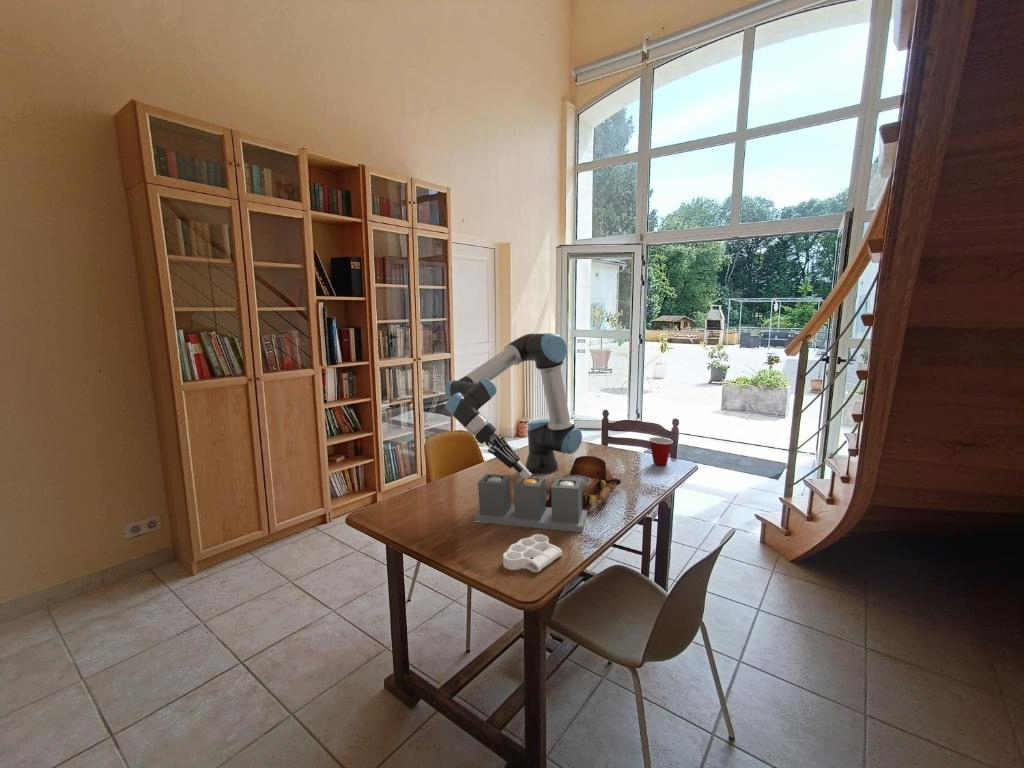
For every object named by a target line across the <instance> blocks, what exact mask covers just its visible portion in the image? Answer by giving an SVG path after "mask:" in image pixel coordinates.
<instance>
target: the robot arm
mask: <svg viewBox="0 0 1024 768" xmlns="http://www.w3.org/2000/svg"><path fill="white" fill-rule="evenodd" d="M567 354H568V347H567V343H566V341H565V338H563V336H561V335H560V334H557V333H552V332H551V333H550V332H547V333H527V334H524V335H522V336H520V337H518V338H516V339H514V340H512V341H511V342H510V343H508V344H507V345H505V346H504V348H503V350H502V351H500V352H499V353H497V354H495V355H494V356H493V357H491V358H490V359H488V360H487V361H486V362H484V363H482V364H481V365H480V366H478V367H476V368H475V369H473V370H472V371H470V372H469V373H468V374H466V375H464V376H463V377H461V378H459V379H458V380H450V381H448V382H447V383H446V385H445V387H444V393H445V396H446V397H447V399H448V400H447V401H446V402H445V405H444V406H445V409H446V410H447V411H448V413H450V415H451V416H452V417H454V419H456V420H457V422H458V423H460V425H462V426H463V427H464V429H465V430H466V431H467V432H468V433H470V434H471V435H472V436H474V439H475V440H476V441H477V442H478V443H479V444H481V445H483V444H485V445H486V446H487V447H488V449H487V452H488V453H490V454H491V455H493V456H494V457H496V458H497V459H498V460H499V461H500V462H502V463H503V464H504V465H505V466H506V467H507V468H508V469H512V468H513V469H514V470H515V471H516V472H517V473H518V474H519V475H520V476H522V477H523V478H524V479H525V480H527V479H528V478H529V477H532V474H539V473H541V475H542V474H550V473H554V472H556V471H557V470H558V469H559V466H558V465H559V464H558V461H557V459H556V455H555V452H559V453H562V454H568V455H571V454H574V453H576V451H578V450H579V448H580V447H581V444H582V439H583V433H582V431H581V430H580V429H579V428H577V427H575V422H574V420H573V419H572V418H571V417H570V413H569V406H568V401H567V395H566V392H565V385H564V380H563V374H562V365H564V360H565V359H566V357H567ZM527 361H529V362H532V361H533V362H534V363H535V369H537V370H538V371H540V374H541V380H542V386H543V390H544V395H545V396H544V397H545V400H546V406H547V412H548V417H549V418H545V419H543V418H542V419H537V420H533V421H530V422H529V423H528V425H527V440H528V454H527V458H526V462H525V465H524V464H523V463H522V462H521V461H520V460H521V457H520V456H519V455H518V454H517V453H516V452H515V451H514V449H513V448H512V447H511V446H510V444H509V443H508V442H507V440H506V438H505V437H504V436H501V437H500V436H499V435H497V434H496V433H495V432H496V430H497V429H496V428H495V426H494V425H493V424H492V423H490V422H488V421H489V420H488V419H487V418H486V417H485V416H484V415H483V414H482V413H481V412H480V411H479V410H480V409H481V408H482V407H483V406H484V405H486V404H487V403H488V402H489V401H490V400H492V399H493V397H494V396H495V395H496V393H497V388H496V385H495V383H494V382H493V380H494V379H496V378H497V377H498V376H500V375H501V374H503V373H505V372H506V371H507V370H508V369H510V368H512V367H513V366H518V365H520V364H521V363H525V362H527ZM529 471H530V472H529ZM531 472H533V473H531Z"/></svg>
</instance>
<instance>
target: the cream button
mask: <svg viewBox="0 0 1024 768" xmlns="http://www.w3.org/2000/svg"><path fill="white" fill-rule="evenodd" d="M559 486H566V487H574V483H573V482H570V481H563V482H560V483H559Z"/></svg>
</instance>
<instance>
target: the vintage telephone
mask: <svg viewBox="0 0 1024 768" xmlns="http://www.w3.org/2000/svg"><path fill="white" fill-rule="evenodd" d="M561 478H564V479H581V480H582V510H587V512H588V511H589V510H590V509H591V508H592V507H593V506H594V505H595V503H598V504H601V503H602V501H605V499H607V498H608V497H609V495H610V494H611V493H612V491H613V490H614V489H615V488H616V486H619V485H620V484H621V482H622V481H621V479H619V478H618V477H613V475H612V473H611V472H610V471H609V469H608V467H607V465H606V461H605V460H603V459H602V458H599V457H597V456H594V455H583V456H582V455H581V456H578V457H575V459H574V461H573V463H572V467H571V469H570V471H569V474H565V475H563V476H562V477H561ZM551 487H552V485H551V486H550V487H549V488H547V487H545V495H546V496H548V495H549V496H548V497H549V498H548V499H546V507H551V508H552V500H551ZM613 488H614V489H613Z"/></svg>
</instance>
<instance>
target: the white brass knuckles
mask: <svg viewBox="0 0 1024 768" xmlns="http://www.w3.org/2000/svg"><path fill="white" fill-rule="evenodd" d="M562 555H563V551H562V549H561V548H560V547H559V546H558V545H557V546H556V545H554V544H552V543H550V538H549V537H548V536H547V535H545V534H540V533H539V534H538V533H537V534H533V535H532V536H530V537H526V538H525V537H523V538H521V539H519V540H518V541H517V542H516V543H512V544H511V545H510V546H509V547H508V549H505V552H503V554H502V561H503V562H502V563H503V567H504V568H505V569H507V570H511V571H518V570H520V569H527V570H529V571H530V572H533V573H539V572H541V571H542V570H543V569H544V568H545V567H547V566H548V565H550V564H552V563H553V562H554V561H555V560H556V559H558V558H559V557H561V556H562ZM530 558H533V559H530ZM534 569H536V570H534Z"/></svg>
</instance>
